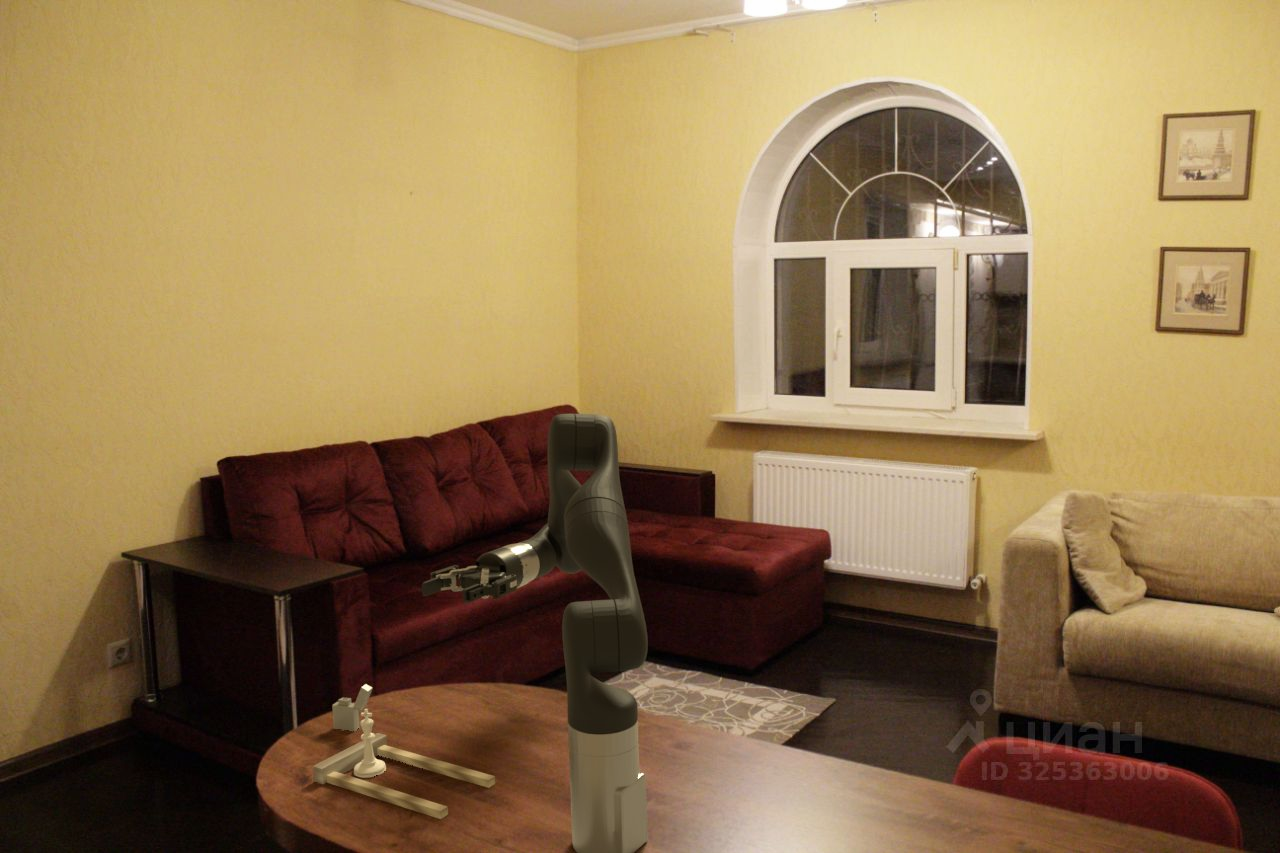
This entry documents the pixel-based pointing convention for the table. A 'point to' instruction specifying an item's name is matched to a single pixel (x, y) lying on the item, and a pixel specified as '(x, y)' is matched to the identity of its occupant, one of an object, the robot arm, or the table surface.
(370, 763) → the chess piece
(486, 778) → the track
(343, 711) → the lighter
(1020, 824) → the table surface
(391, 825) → the table surface
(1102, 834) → the table surface
